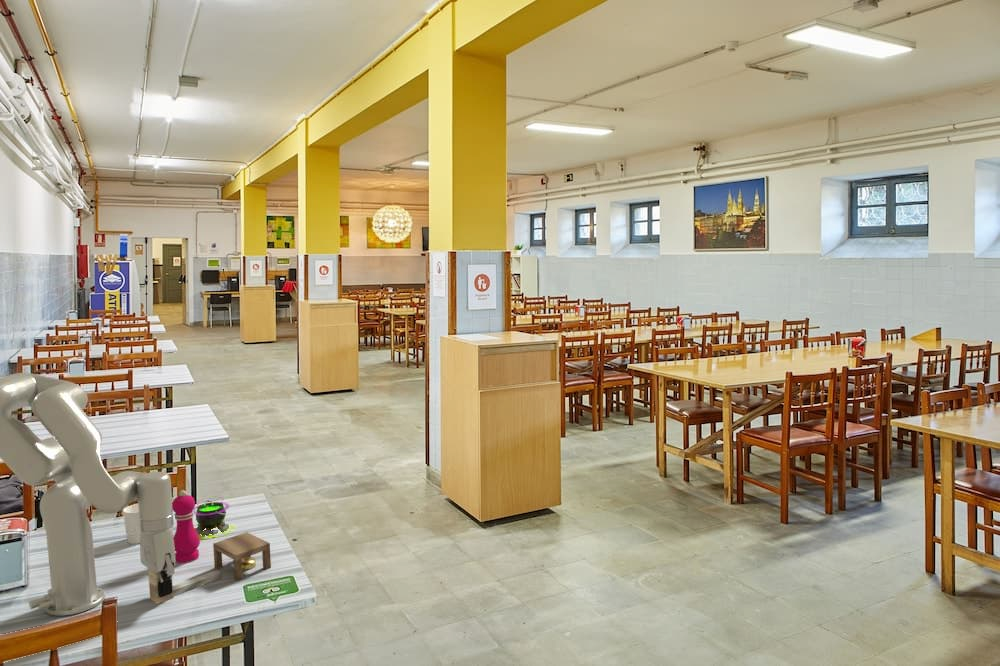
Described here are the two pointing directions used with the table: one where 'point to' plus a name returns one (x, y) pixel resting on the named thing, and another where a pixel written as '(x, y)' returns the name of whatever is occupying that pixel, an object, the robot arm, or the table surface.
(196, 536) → the pepper mill
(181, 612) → the table surface
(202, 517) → the toy cauldron
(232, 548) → the small wooden table
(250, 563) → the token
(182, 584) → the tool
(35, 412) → the robot arm
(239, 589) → the table surface
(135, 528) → the white cup
